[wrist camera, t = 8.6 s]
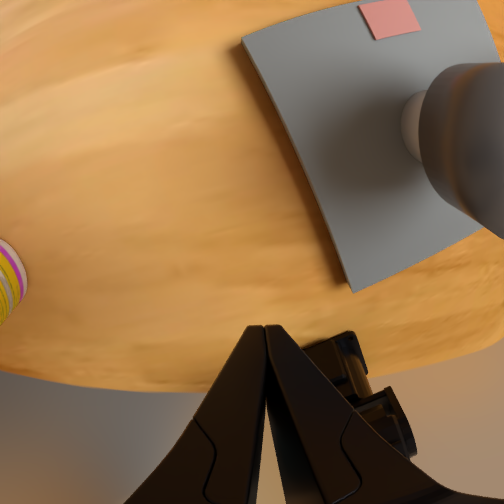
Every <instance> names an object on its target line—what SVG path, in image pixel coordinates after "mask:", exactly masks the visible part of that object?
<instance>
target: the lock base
mask: <svg viewBox="0 0 504 504" xmlns="http://www.w3.org/2000/svg"><path fill="white" fill-rule="evenodd" d="M241 43H242V45H243V47H244V49H245V51H246V53H247V54H248V56H249V58H250V60H251V62H252V64H253V66H254V68H255V69H256V71H257V73H258V75H259V77H260V79H261V81H262V83H263V85H264V87H265V89H266V91H267V93H268V95H269V97H270V99H271V101H272V103H273V105H274V107H275V109H276V111H277V113H278V115H279V117H280V120H281V122H282V124H283V126H284V128H285V130H286V132H287V134H288V137H289V139H290V141H291V143H292V145H293V148H294V150H295V152H296V154H297V157H298V159H299V161H300V163H301V166H302V168H303V170H304V173H305V175H306V177H307V180H308V182H309V184H310V187H311V189H312V191H313V194H314V196H315V199H316V201H317V204H318V206H319V209H320V211H321V214H322V216H323V219H324V221H325V224H326V226H327V229H328V231H329V234H330V237H331V239H332V242H333V244H334V247H335V250H336V253H337V255H338V258H339V261H340V263H341V266H342V269H343V272H344V275H345V277H346V280H347V283H348V285H349V287H350V288H351V290H352V292H353V293H355V292H358V291H360V290H362V289H364V288H366V287H369V286H371V285H373V284H375V283H377V282H379V281H381V280H384V279H386V278H388V277H390V276H392V275H394V274H396V273H398V272H400V271H402V270H404V269H406V268H408V267H410V266H412V265H414V264H416V263H418V262H420V261H422V260H424V259H426V258H428V257H430V256H432V255H434V254H436V253H438V252H440V251H441V250H443V249H445V248H447V247H449V246H451V245H453V244H455V243H456V242H458V241H460V240H462V239H464V238H465V237H467V236H469V235H471V234H473V233H474V232H476V231H478V230H480V229H481V228H483V227H484V226H482V225H481V224H479V223H478V222H476V221H475V220H473V219H472V218H470V217H469V216H467V215H466V214H464V213H463V212H461V211H459V210H458V209H456V208H455V207H453V206H451V205H450V204H448V203H447V202H445V201H444V200H443V199H442V198H441V197H440V196H439V195H438V194H437V192H436V191H435V190H434V188H433V187H432V185H431V184H430V182H429V179H428V177H427V175H426V173H425V170H424V167H423V164H422V160H421V156H420V149H419V139H418V127H419V117H420V111H421V107H422V102H423V100H424V97H425V94H426V92H427V90H428V88H429V86H430V84H431V83H432V82H433V80H434V79H435V78H436V77H437V76H438V75H439V74H440V73H441V72H442V71H443V70H445V69H446V68H448V67H450V66H453V65H456V64H463V63H494V62H501V61H500V58H499V55H498V52H497V49H496V46H495V43H494V41H493V38H492V35H491V33H490V30H489V28H488V25H487V23H486V20H485V18H484V16H483V13H482V11H481V9H480V7H479V5H478V2H477V0H362V1H357V2H353V3H348V4H344V5H339V6H335V7H331V8H327V9H324V10H320V11H316V12H313V13H309V14H306V15H303V16H299V17H296V18H293V19H290V20H287V21H284V22H281V23H278V24H275V25H272V26H270V27H267V28H264V29H262V30H259V31H256V32H254V33H251V34H249V35H246V36H244V37H241Z"/></svg>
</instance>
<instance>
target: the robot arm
mask: <svg viewBox="0 0 504 504" xmlns="http://www.w3.org/2000/svg"><path fill="white" fill-rule="evenodd" d="M351 336H352V337H351ZM349 337H350V338H349ZM367 374H368V370H367V367H366V364H365V361H364V358H363V354H362V351H361V348H360V345H359V342H358V339H357V336H356V334H355V332H353V331H349V332H347V333H344V334H342V335H340V336H337V337H335V338H332V339H330V340H328V341H325V342H323V343H320V344H318V345H315V346H313V347H310V348H308V349H305V350H302V349H301V348H300V347H299V346H298V345H297V343H296V342H295V341H294V340H293V339H292V338H291V337H290V335H289V334H288V333H287V332H286V331H285V330H284V328H283V327H282V326H281V325H265V326H264V327H263V326H262V325H249V326H247V327H246V329H245V331H244V332H243V334H242V336H241V337H240V339H239V341H238V343H237V344H236V346H235V348H234V349H233V351H232V353H231V355H230V356H229V358H228V360H227V361H226V363H225V365H224V366H223V368H222V370H221V371H220V373H219V375H218V376H217V378H216V380H215V381H214V383H213V385H212V386H211V388H210V390H209V391H208V393H207V395H206V396H205V398H204V400H203V401H202V403H201V405H200V406H199V408H198V409H197V411H196V413H195V414H194V416H193V419H192V420H191V421H190V422H189V424H188V425H187V427H186V429H185V430H184V432H183V433H182V435H181V436H180V438H179V439H178V441H177V442H176V444H175V445H174V446H173V448H172V449H171V450H170V452H169V453H168V454H167V455H166V457H165V458H164V459H163V460H162V461H161V463H160V464H159V465H158V466H157V467H156V469H155V470H154V471H153V472H152V473H151V474H150V475H149V476H148V478H147V479H146V480H145V481H144V482H143V483H142V484H141V485H140V486H139V487H138V489H137V490H136V491H135V492H134V493H133V494H132V495H131V496H130V498H128V499H127V500H126V502H125V503H124V504H256V499H257V490H258V481H259V471H260V462H261V452H262V442H263V432H264V420H265V409H266V408H265V407H266V405H267V412H268V417H269V421H270V427H271V432H272V437H273V442H274V447H275V452H276V457H277V462H278V467H279V472H280V476H281V481H282V486H283V491H284V496H285V501H286V504H504V499H498V498H490V497H483V496H477V495H470V494H465V493H461V492H457V491H454V490H451V489H449V488H447V487H444V486H443V485H441V484H439V483H437V482H436V481H435V480H434V479H432V478H431V477H430V476H428V475H427V474H426V473H424V472H423V471H422V470H421V469H419V468H418V467H417V466H416V465H414V464H413V463H412V462H411V461H410V458H411V457H413V456H415V455H417V448H416V443H415V439H414V436H413V433H412V430H411V428H410V425H409V422H408V420H407V418H406V416H405V414H404V412H403V410H402V408H401V406H400V404H399V402H398V400H397V398H396V396H395V394H394V392H393V390H392V388H391V386H388V387H386V388H384V390H382V391H380V392H377V393H375V394H373V393H372V390H371V387H370V385H369V382H368V379H367V377H366V375H367Z"/></svg>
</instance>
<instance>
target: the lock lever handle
mask: <svg viewBox="0 0 504 504" xmlns="http://www.w3.org/2000/svg"><path fill="white" fill-rule="evenodd" d="M418 139H419V149H420V156H421V160H422V164H423V167H424V170H425V173H426V175H427V177H428V179H429V182H430V184H431V185H432V187H433V188H434V190H435V191H436V192H437V194H438V195H439V196H440V197H441V198H442V199H443V200H444V201H445V202H447V203H448V204H450V205H451V206H453V207H455V208H456V209H458V210H459V211H461V212H463V213H464V214H466V215H467V216H469V217H470V218H472V219H473V220H475V221H476V222H478V223H479V224H481V225H482V226H484V227H485V228H487V229H488V230H490V231H491V232H493V233H494V234H495V235H497V236H498V237H500V238H502V239H504V63H503V62H494V63H463V64H456V65H453V66H450V67H448V68H446V69H445V70H443V71H442V72H441V73H440V74H439V75H438V76H437V77H436V78H435V79H434V80H433V82H432V83H431V84H430V86H429V88H428V90H427V92H426V94H425V97H424V100H423V102H422V107H421V111H420V117H419V127H418Z"/></svg>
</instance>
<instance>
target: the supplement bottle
mask: <svg viewBox="0 0 504 504" xmlns="http://www.w3.org/2000/svg"><path fill="white" fill-rule="evenodd" d="M26 291H27V276H26V272H25V269H24V266H23V264H22V262H21V260H20V258H19V256H18V255H17V253H16V252H15V251H14V249H13V248H12V247H11V246H10V245H9V244H8V243H6V242H5V241H3V240H2V239H0V326H1V324H2V323H3V322H4V321H5V319H6V318H7V317H8V316H9V314H10V313H11V312H12V311H13V310H14V309H15V307H16V306H17V305H18V304H19V303H20V301H21V300H22V299H23V297H24V296H25V294H26Z"/></svg>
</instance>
